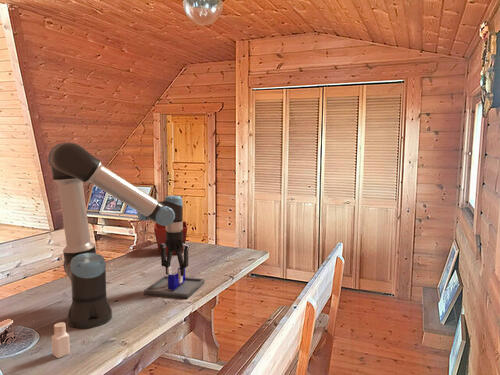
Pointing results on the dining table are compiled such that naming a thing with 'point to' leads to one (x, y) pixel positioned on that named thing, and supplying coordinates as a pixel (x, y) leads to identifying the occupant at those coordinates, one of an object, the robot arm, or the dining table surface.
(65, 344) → the salt shaker
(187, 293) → the tray
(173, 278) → the cable clip
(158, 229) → the plant pot
